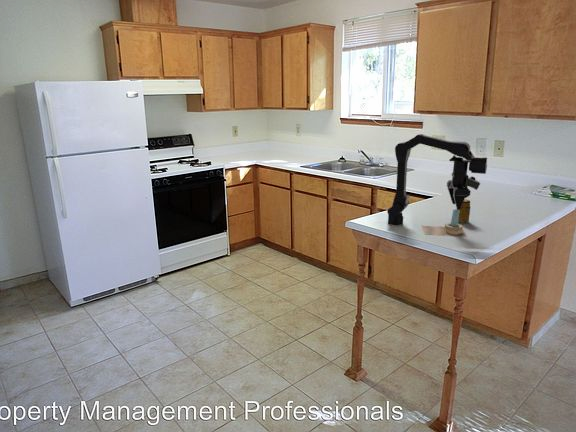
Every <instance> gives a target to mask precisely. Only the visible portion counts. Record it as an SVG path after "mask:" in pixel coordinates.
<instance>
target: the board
mask: <svg viewBox="0 0 576 432" xmlns="http://www.w3.org/2000/svg"><path fill="white" fill-rule="evenodd" d="M421 228H422V231H423V234H424V235H425V236H445V237H466V238H468V235H467V234H466V232H465V231H464V229H463V228H462V233H461V234H449V233H446V232H445V231H444V229H445V226H435V225H421Z"/></svg>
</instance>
